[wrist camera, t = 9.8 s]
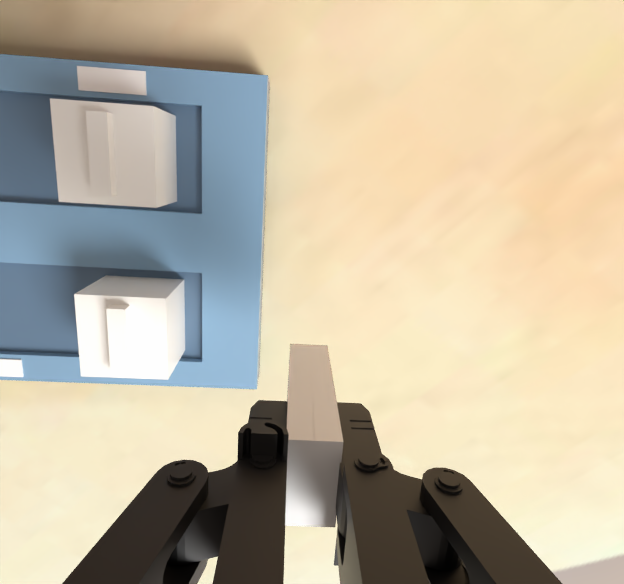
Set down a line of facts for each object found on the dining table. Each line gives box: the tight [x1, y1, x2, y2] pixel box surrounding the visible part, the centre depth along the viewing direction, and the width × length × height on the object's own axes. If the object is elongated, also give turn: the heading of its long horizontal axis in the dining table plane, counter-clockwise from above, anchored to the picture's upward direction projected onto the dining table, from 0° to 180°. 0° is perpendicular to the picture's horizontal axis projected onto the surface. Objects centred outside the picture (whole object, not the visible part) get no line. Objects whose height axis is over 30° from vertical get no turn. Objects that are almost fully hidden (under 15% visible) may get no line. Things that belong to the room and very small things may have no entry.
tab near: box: [50, 98, 177, 208], centre depth 19 cm, size 4×4×4 cm
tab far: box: [74, 275, 185, 380], centre depth 22 cm, size 4×4×4 cm
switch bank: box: [0, 54, 270, 389], centre depth 23 cm, size 20×16×2 cm
